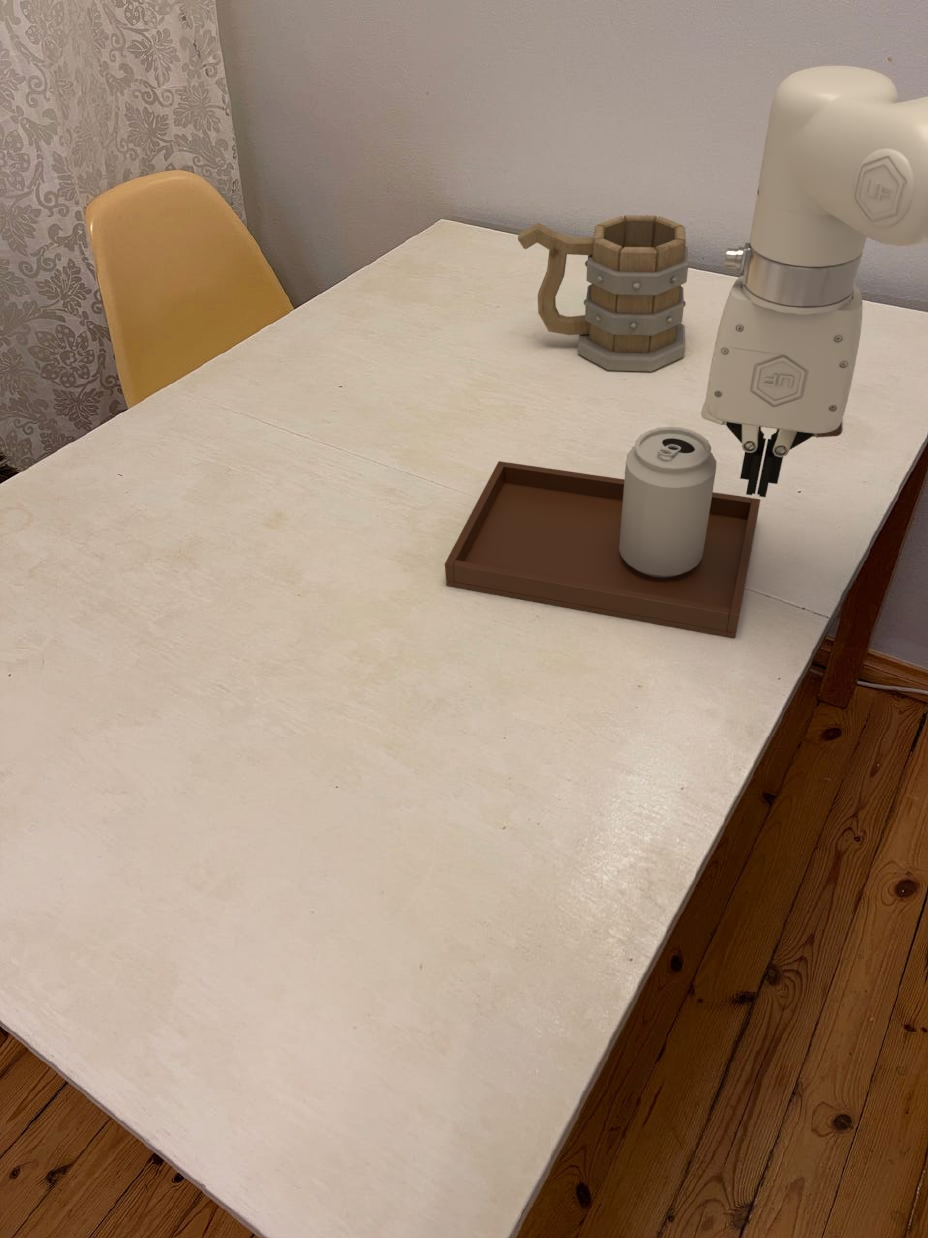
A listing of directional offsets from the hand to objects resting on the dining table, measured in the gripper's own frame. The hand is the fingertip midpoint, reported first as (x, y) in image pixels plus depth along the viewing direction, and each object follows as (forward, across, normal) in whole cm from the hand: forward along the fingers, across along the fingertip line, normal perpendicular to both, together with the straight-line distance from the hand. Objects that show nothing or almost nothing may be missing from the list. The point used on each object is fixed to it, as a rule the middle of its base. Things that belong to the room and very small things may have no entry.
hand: (757, 486), depth 80 cm
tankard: (+10, -21, +39) cm, 45 cm away
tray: (+10, -12, 0) cm, 16 cm away
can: (+9, -7, 0) cm, 12 cm away
